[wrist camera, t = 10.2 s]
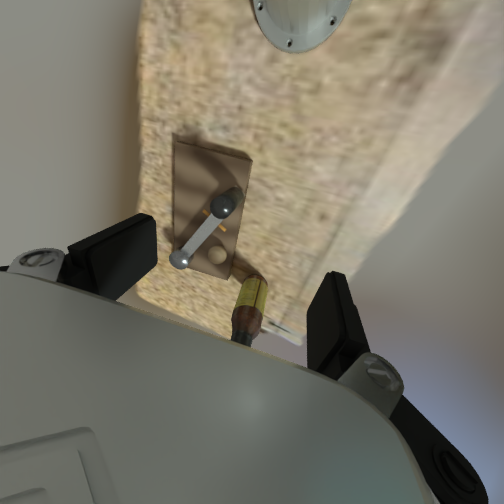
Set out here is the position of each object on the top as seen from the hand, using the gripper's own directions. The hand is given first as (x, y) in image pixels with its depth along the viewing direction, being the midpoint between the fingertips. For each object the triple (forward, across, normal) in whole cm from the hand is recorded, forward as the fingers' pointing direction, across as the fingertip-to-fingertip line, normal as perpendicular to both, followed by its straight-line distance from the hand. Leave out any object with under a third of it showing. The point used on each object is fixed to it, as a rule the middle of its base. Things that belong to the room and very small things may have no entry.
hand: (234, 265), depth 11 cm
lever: (+28, +12, +14) cm, 33 cm away
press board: (+30, +13, +12) cm, 35 cm away
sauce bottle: (+31, -1, +26) cm, 40 cm away
